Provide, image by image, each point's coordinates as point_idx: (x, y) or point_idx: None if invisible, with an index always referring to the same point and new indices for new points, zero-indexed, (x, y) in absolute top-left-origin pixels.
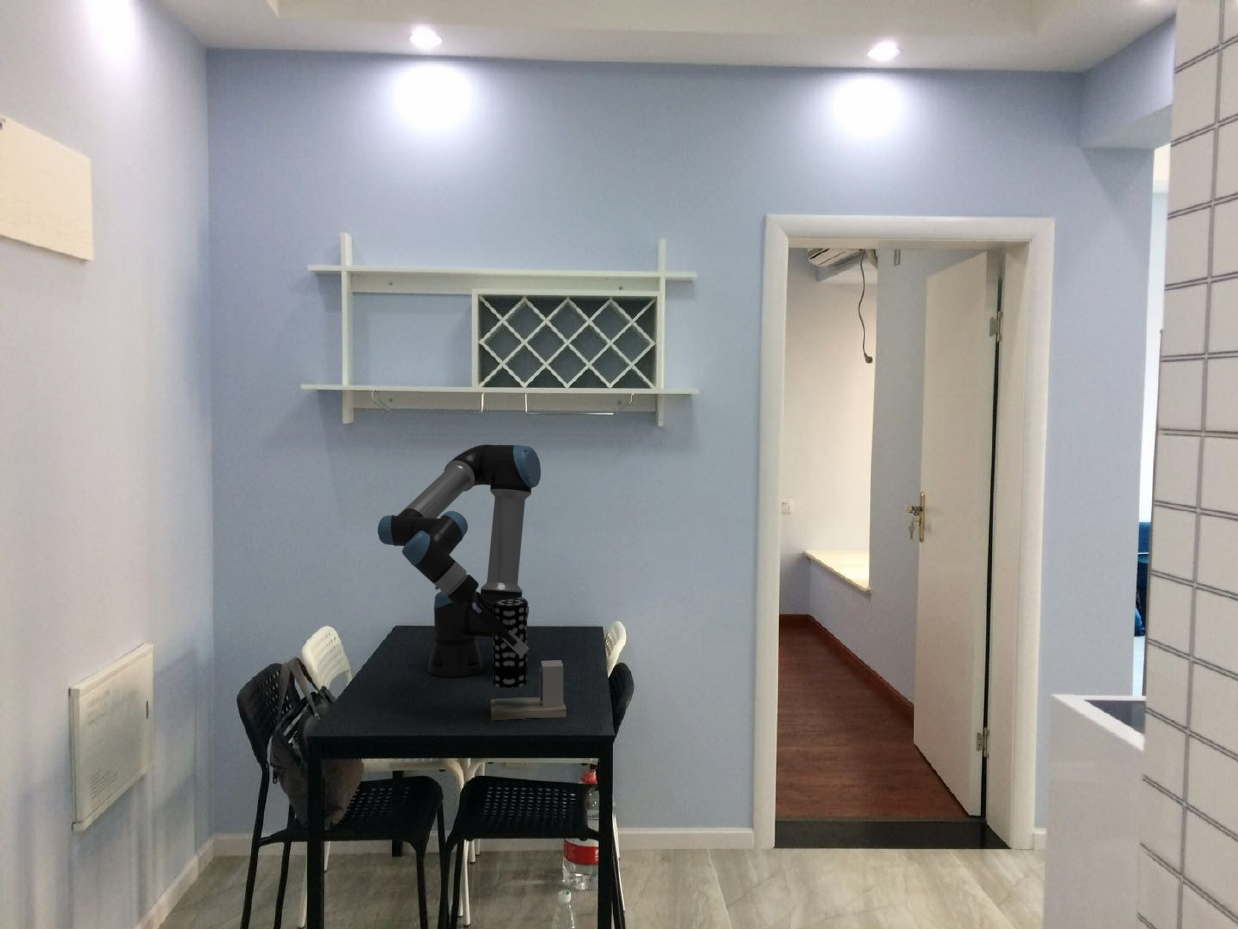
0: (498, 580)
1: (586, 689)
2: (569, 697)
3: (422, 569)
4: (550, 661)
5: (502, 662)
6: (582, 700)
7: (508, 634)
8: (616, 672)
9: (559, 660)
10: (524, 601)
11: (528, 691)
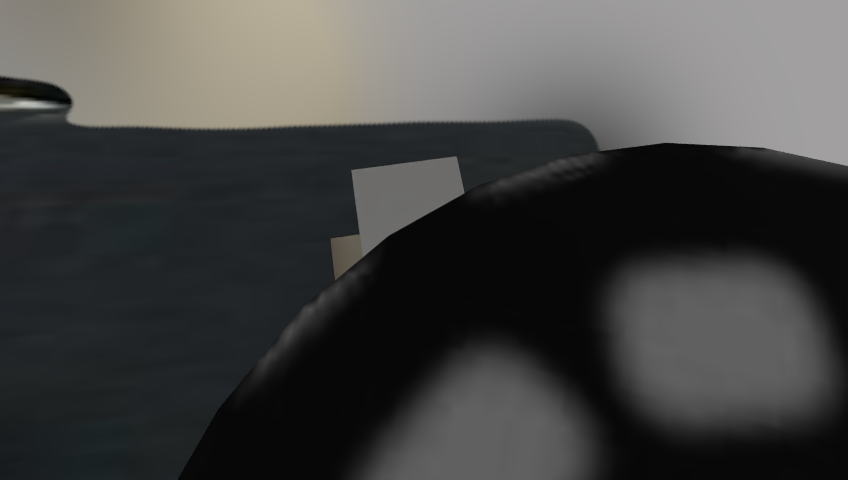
0: None
1: (185, 173)
2: (267, 226)
3: None
4: (376, 222)
5: None
6: (303, 184)
7: None
8: (8, 81)
9: (357, 178)
10: (575, 225)
11: (175, 387)
